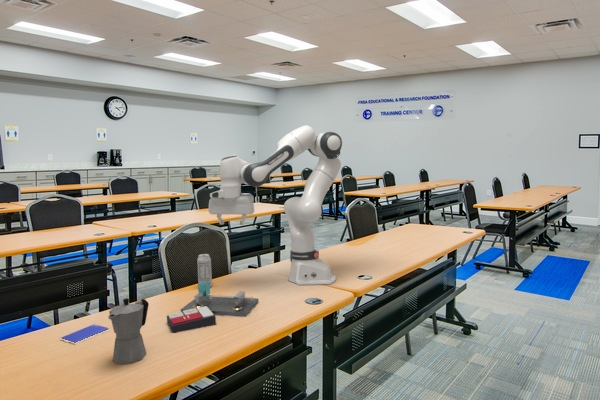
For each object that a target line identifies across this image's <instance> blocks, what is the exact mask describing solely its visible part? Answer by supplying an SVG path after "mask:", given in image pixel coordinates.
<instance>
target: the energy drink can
mask: <svg viewBox="0 0 600 400" xmlns="http://www.w3.org/2000/svg"><path fill="white" fill-rule="evenodd" d="M196 261H197V262H196V264H197V281H198V284H199V283H201V282H202V281H210V289H211V288H212V286H213V282H212V281H213V277H212V258H211V256H210V254H208V253H202V254H198V257H197V259H196Z"/></svg>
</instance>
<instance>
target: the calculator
mask: <svg viewBox="0 0 600 400" xmlns="http://www.w3.org/2000/svg"><path fill="white" fill-rule="evenodd" d="M216 318H217V317H216V315H214V313H213V312H212V311H211V310H210V309H209V308H208V307H207V306H204V307H200V308H197V309H196V308H193V309H189V310H185V311H183V312H181V310H179V311H177V312H173V313H172V312H171V313H168V314H167V315H166V322H167V325H168V327H169V328H170V330H171V332H172V333H173V334H175V333H181V332H186V331H191V330H195V329H200V328H206V327H211V326H215V325H217V321H216Z"/></svg>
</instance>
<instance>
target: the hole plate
mask: <svg viewBox="0 0 600 400" xmlns="http://www.w3.org/2000/svg"><path fill="white" fill-rule="evenodd" d="M245 293H246V291H243V290H242V291H241V290H239V291H238V292H237V293H236V294H235V295H219V294H218V295H215V294H209V295H208V296H207V297H203V298H202V299H201V300H199V305H197V301H195V295H194V296H193V298H194V299H193V300H191V301H190V302H189V303H187V304H185V305H184V306H183V307H182V308H180V311H181V312H183V311H185V310H189V309H193V308H196V309H197V308H200V307H204V306H207V307H208V308H209V309H210V310H211V311H212V312H213V313H214V315H215V316H223V317H224V316H227V317H242V318H243V317H244V318H245V317H247V316H248V315H249V314H250V313H251V312H252V310H253V309H255V307H256V306H257V305H258V303H259V301H260V300H259V298H254V296H246V294H245Z"/></svg>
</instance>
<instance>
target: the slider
mask: <svg viewBox="0 0 600 400" xmlns="http://www.w3.org/2000/svg"><path fill="white" fill-rule="evenodd" d="M197 287H198V289H197V290H198V293H196V294H195V295H194V296H195V301H197V305H199V300H201V299H202V298H203V297H207V296H208V295H211V288H210V281H202V282H201V283H199V284H198V286H197Z"/></svg>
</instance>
